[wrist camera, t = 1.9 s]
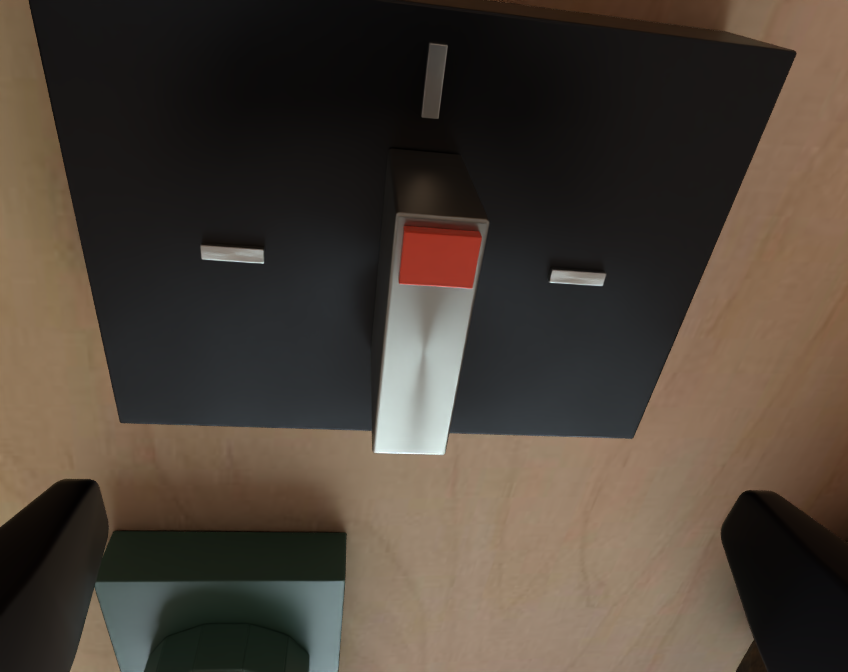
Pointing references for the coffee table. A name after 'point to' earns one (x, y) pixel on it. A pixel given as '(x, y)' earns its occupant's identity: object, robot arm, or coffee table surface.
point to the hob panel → (365, 187)
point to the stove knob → (423, 298)
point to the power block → (224, 600)
